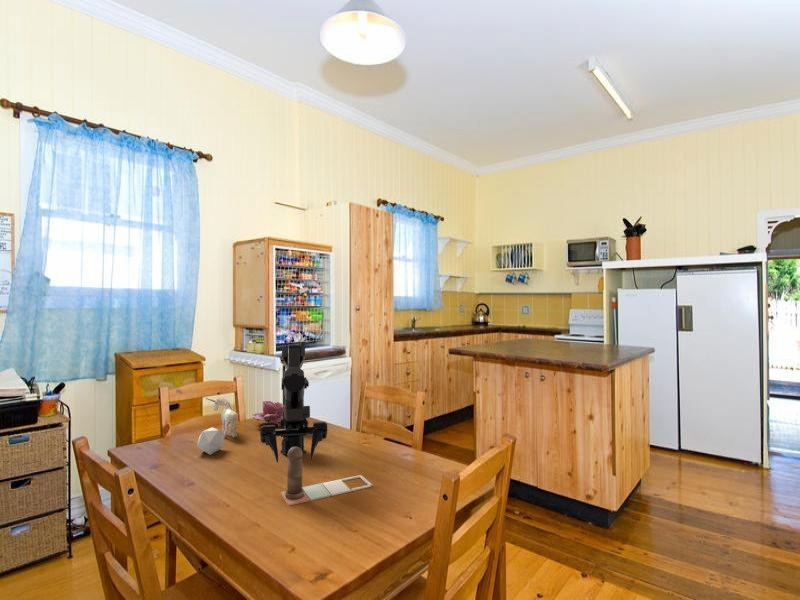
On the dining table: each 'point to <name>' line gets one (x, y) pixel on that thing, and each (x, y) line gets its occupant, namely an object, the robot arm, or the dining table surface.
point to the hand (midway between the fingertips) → (294, 460)
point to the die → (211, 440)
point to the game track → (325, 490)
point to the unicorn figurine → (226, 416)
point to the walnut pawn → (294, 474)
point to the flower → (271, 413)
